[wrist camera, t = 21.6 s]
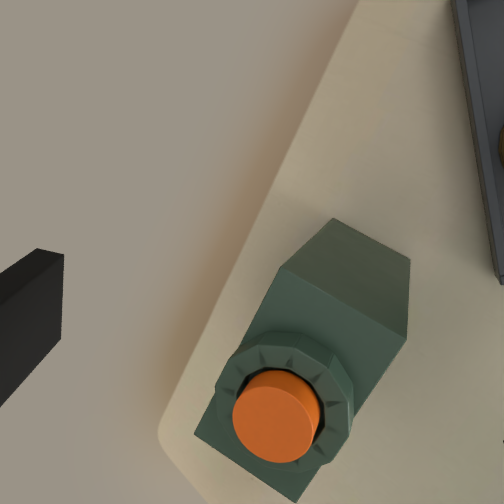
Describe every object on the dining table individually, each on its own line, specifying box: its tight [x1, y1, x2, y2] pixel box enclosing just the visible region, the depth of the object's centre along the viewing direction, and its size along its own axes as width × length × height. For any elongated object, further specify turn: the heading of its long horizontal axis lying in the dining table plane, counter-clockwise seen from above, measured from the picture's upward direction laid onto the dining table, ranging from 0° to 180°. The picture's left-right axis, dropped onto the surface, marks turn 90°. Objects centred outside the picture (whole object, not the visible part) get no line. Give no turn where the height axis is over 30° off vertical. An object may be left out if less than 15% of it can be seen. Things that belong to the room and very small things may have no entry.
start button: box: [232, 370, 320, 463], centre depth 23 cm, size 4×4×2 cm
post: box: [194, 218, 410, 503], centre depth 31 cm, size 12×7×18 cm, turn 154°
